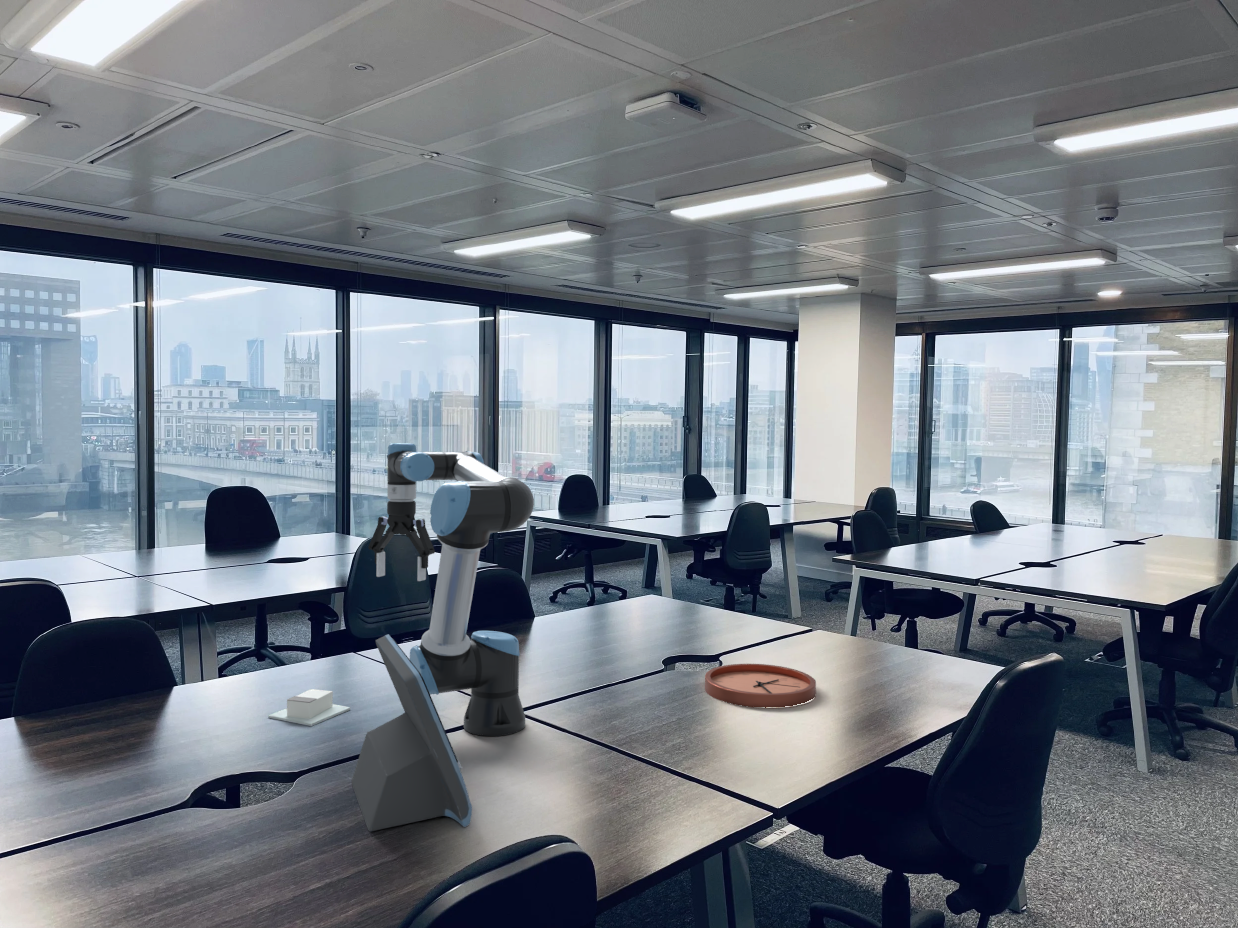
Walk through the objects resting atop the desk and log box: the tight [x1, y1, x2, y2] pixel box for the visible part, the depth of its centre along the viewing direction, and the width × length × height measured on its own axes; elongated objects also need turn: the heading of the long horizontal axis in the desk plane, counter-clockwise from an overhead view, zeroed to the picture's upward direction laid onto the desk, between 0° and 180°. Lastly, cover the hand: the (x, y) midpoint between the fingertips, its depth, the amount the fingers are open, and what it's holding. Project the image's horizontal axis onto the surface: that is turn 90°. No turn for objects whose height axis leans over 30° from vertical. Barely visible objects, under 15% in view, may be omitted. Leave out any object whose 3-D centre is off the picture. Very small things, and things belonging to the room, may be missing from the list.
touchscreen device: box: [351, 634, 473, 833], centre depth 171 cm, size 35×20×30 cm, turn 25°
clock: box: [704, 663, 817, 709], centre depth 247 cm, size 31×4×31 cm
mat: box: [267, 703, 351, 727], centre depth 221 cm, size 14×14×1 cm
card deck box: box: [286, 688, 334, 719], centre depth 221 cm, size 10×6×4 cm, turn 165°
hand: (400, 578), depth 234 cm, fingers open, 13 cm apart
